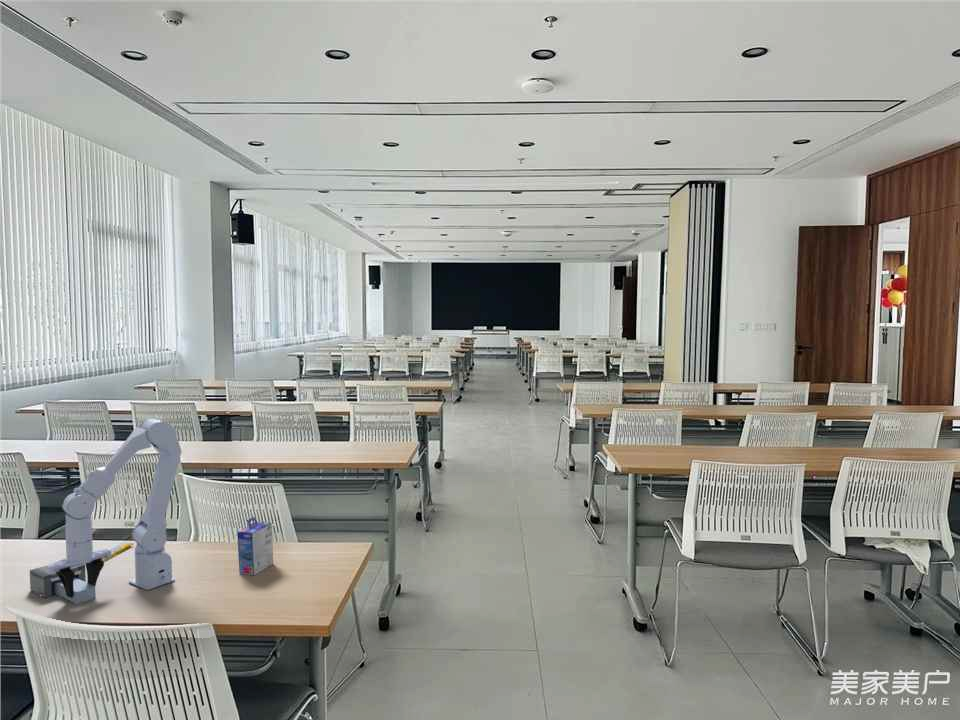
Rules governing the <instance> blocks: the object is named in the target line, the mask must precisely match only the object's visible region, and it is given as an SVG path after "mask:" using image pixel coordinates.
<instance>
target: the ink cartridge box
mask: <svg viewBox="0 0 960 720" xmlns="http://www.w3.org/2000/svg"><path fill="white" fill-rule="evenodd" d="M252 521H254V522H252ZM251 522H252V523H251ZM246 523H247V525H248V526H247V527H245V528H243V529H240V530H238V531H237V534H236V535H237V551H238V553H237V555H238V571H239V574H240V575H245V576H246V575H247V576H255V575H257V574H258V573H260V572H262V571H264V570H265V569H267V568H268V567H270V566H271V565H273V564H274V544H273V543H274V542H273V541H274V538H273V523H272V522H264V521H263V522H262V521H257V519H256V518H255V517H254V516H253V517H251V518H249V519H246Z"/></svg>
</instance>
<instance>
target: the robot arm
mask: <svg viewBox="0 0 960 720" xmlns="http://www.w3.org/2000/svg"><path fill="white" fill-rule="evenodd" d="M177 434H178V433H177V430H176V429H175V428H174V427H173V426H172V425H171V424H170V423H169V422H168V421H165V420H164V421H162V420H159V419H157V418H155V417H154V418H153V417H150V418H146V419H144V420H142V421H141V423H140V424H139V426H137V427H135V428H134V429H133V430H132V432H131V433H130V434H129V436H128V437H127V438H126V440H125V441H124V442H123V443H122V445H120V447H119V448H118V449H117V450H116V452H115V453H114V454H113V455H112V456H111V457H110V459H109V460H108V461H107V462H106V463H105V465H104V466H102V467H95V469H94V470H89V471H88V473H87V474H86V475H87V477H86V479H84V481H82V483H81V484H80V485H79V486H78V487H75V488H74V489H73V491H72V492H73V493H70V494H68V495H67V496H66V497H65V499H63V503H62V504H61V507H62V510H63V511H64V512H65V551H66V552H65V555H66V557H65V558H64V559H61V560H59V561H55V562H54V563H49V564H47V565H46V566H47V573H48V574H50V575H51V574H54V573H55V572H56V574H57V575H58V577H59V578H60V580H61V582H62V584H63V586H64V588H65V591H66V595H67V597H70V598H71V597H73V595H74V589H73V581H74V575H75V572H73V571H72V569H70V568H72V567H76V566H79V565H83V564H84V565H85V571H86V576H87V577H86V582H87V583H89V584H91V585H93V586H95V587H96V586H97V581H98V579H99V575H100V573H101V571H102V570H103V568H104V566H105V562H104V561H102V559H104V558H111V549H109V548H104V549H101V550H94V551H93V548H94V547H93V522H92V513H93V512H94V510H95V505H96V502H98V501H99V500H100V499H101V497H103V495H104V494H105V493H106V492H107V491H108V490H109V489H110V488H111V487H112V485H114V483H115V482H116V474H117V473H118V472H119V470H121V469H122V468H123V467H124V466H125V465H126V463H128V461H130V459H131V458H132V457H134V455H136V453H137V452H138V451H141V450H145V449H150V448H152V447H153V448H154V450H155V451H156V452H157V453H158V455H159V456H158V459H157V464H156V467H155V471H154V475H153V479H152V482H151V483H152V484H151V486H150V491H149V493H148V494H149V495H148V498H147V502H146V505H145V510H144V512H143V513H142V514H141V515H140V517H139V520H138V522H137V524H136V525H135V526H134V528H133V530H132V533H131V537H132V540H133V541H134V542H135V543H136V546H135V547H134V568H135V569H134V570H135V571H134V572H135V574H134V575H135V577H134V578H133V579H130V580H128V583H129V584H132V585H135V586H137V587H139V588H141V589H144V590H147V591H148V590H151V589H155V588H157V587H160V586H163V585H166V584H170V583H172V582H175V581H176V578H174V577H173V565H172V564H173V563H172V561H173V560H172V557H171V556H170V555H169V554H168V553H167V552H166V549H165V545H166V543H167V540H168V537H167V532H166V531H167V518H166V514H167V513H166V512H167V509H168V505H169V501H170V497H171V494H172V490H173V486H174V482H175V478H176V474H177V471H178V466H179V463H180V459H181V455H182V448H181V445H180V442H179V440H178V436H177ZM111 559H112V558H111Z"/></svg>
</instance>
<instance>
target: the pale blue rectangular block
mask: <svg viewBox="0 0 960 720" xmlns="http://www.w3.org/2000/svg"><path fill="white" fill-rule="evenodd" d="M73 589H74V595H73V597H71V598H70V597H67V595H66V591H65V588H64V586H63V584H62V582H61V580H56V581H53V582H52V594H55V593H56V594H55V595H58V596H60V597H61V596H62V597H61V598H63V597H64V598H63V599H65V598H66V600H67V599H68V601H70V602H72V603H74V604H76V605H79V604H81V603H85V602H87V601H90V600H94V599H96V597H97V596H96V595H97V594H96V586H93V585H91V584H89V583H87V581H86V582H84V581H82V580H80V579H77V578H75V577H74V581H73ZM93 598H94V599H93Z"/></svg>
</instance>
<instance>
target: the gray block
mask: <svg viewBox="0 0 960 720" xmlns="http://www.w3.org/2000/svg"><path fill="white" fill-rule="evenodd" d="M70 569H72V571H73V572H75V575H74V577H75V578H77V579H80V580H82V581H84V582H87V577H86V576H87V572H86V565H85V564H83V565H79V566H76V567H72V568H70ZM56 580H60V578H59V577H58V575H57V574H56V572H55V573H54V574H51V575H50V574H48V573H47V565H44V566H41V567H37V568H33V569H30V570H29V588H30V589H29V591H30V590H31V591H30V592H32V591H33V592H32V593H34V592H35V593H34V594H36V593H37V594H36V595H38V594H39V595H38V596H40V595H41V596H40V597H42V596H43V597H42V598H44V597H46V598H49V597H52V596H53V592H52V582H53V581H56ZM51 595H52V596H51ZM48 596H49V597H48Z"/></svg>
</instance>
